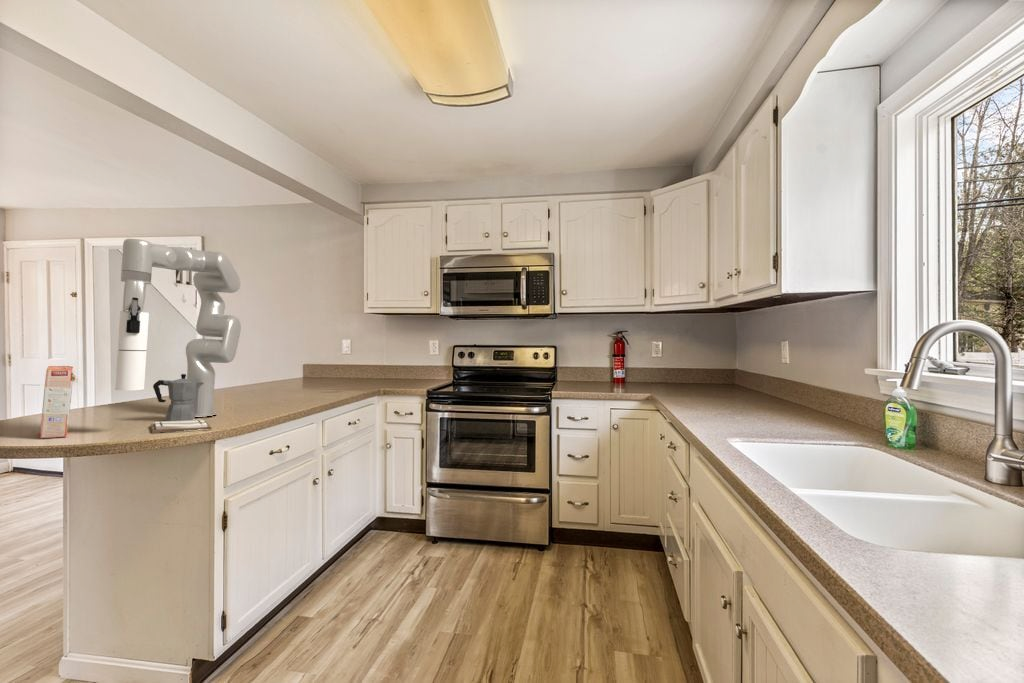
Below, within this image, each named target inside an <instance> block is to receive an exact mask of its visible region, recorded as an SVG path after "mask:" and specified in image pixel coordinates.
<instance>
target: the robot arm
mask: <svg viewBox="0 0 1024 683" xmlns="http://www.w3.org/2000/svg"><path fill="white" fill-rule="evenodd" d="M121 256H122V258H121V271H120V282H123V283H124V285H123V295H122V311H124V312H125V311H128V320H127V327H126V332H127V333H139V331H140V321H139V317H140V313H141V312H143V310H144V307H145V299H146V290H147V285H151V284H152V275H153V274H152V271H153V268H158V269H159V268H160V269H166V270H172V271H182V272H183V271H185V272H195V273H194V275H193V278H192V282H193V285H194V287H195V288H196V291H197V293H198V296H199V298H200V308H199V313H198V317H197V322H196V326H195V331H196V333H197V335H200V336H201V337H202V336H203V337H210V338H195V339H192V340H190V341H189V342H188V343H187V344H186V346H185V356H186V363H187V365H186V366H187V369H186V379H188V380H193V381H199V382H203V383H204V384H202V385H201V386H200V388H199V389H198V390H197V391H196V393H195V397H194V399H193V400H192V404H193V407H194V414H195V416H206V415H213V414H216V413H217V414H218V412H216V411H214V410H213V409H214V396H215V381H216V370H215V368H214V367H213V365H212V364H211V363H217V364H227V363H231V362H233V360H234V359H235V357H236V354H237V352H238V351H237V350H238V346H239V341H240V340H239V339H240V337H241V332H242V331H241V330H242V327H241V326H242V325H241V322H240V319H239V318H238V317H237V316H235V315H230V314H225V309H226V303H225V301H224V299H223V297H221V295H220V294H219V293H224V294H225V293H226V294H227V293H229V294H233V293H237V292H238V291H239V289H240V288H241V279H240V277H239V275H238V273H237V271H236V269H235V267H234V265H233V264H232V262H231V260H230V259H229V257H228V256H227V255H226V254H225V253H222V252H221V251H209V250H201V249H200V250H198V249H194V248H193V249H192V248H186V247H180V246H179V247H178V246H167V245H165V244H157V243H152V242H150V241H148V240H144V239H139V238H127V239H125V240H124V241H123V244H122V255H121ZM130 315H131V317H130ZM212 338H221V339H212Z"/></svg>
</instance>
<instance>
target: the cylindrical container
mask: <svg viewBox="0 0 1024 683" xmlns="http://www.w3.org/2000/svg"><path fill="white" fill-rule="evenodd" d="M128 311H129V310H125V312H124V311H123V310H120V312H119V313H120V314H119V324H118V326H119V327H118V342H117V353H116V354H117V357H116V368H115V369H116V370H115V372H116V373H115V383H114V385H115V386H114V389H115V391H141V390H145V383H146V382H145V380H146V368H147V366H146V365H147V353H148V352H147V350H148V349H147V348H148V337H149V334H148V333H149V322H150V321H149V319H150V313H149V312H146V311H145V312H143V311H142V312H141V313H140V317H139V321H140V331H139V333H127V332H126V327H127V320H128ZM130 317H131V315H130Z"/></svg>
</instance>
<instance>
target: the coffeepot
mask: <svg viewBox="0 0 1024 683" xmlns="http://www.w3.org/2000/svg"><path fill="white" fill-rule="evenodd" d="M180 377H181V378H178V379H175V380H168V379H167V380H164V379H159V380H157V381H156V382H155V383H154V384H153V385H152V387H153V390H154V393H155V396H156V398H157V402H159V403H165V402H166V401H167V400H166V399H163V398H162V393H161V388H160V386H166V387H167V391H168V398H169V400H170V404H169V405H168V408H167V413H166V415H165V419H164V421H183V420H193V419H195V420H196V418H195V414H194V407H193V404H192V400H193V399H194V397H195V393H196V391H197V390H198V389H199V388H200V386H201V385H202V384H204V383H203V382H199V381H193V380H188V379H187V373H186V374H185V373H182V374H180Z"/></svg>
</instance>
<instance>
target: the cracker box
mask: <svg viewBox="0 0 1024 683" xmlns="http://www.w3.org/2000/svg"><path fill="white" fill-rule="evenodd" d="M45 371H46V372H45V380H44V389H43V400H42V409H41V410H42V412H41V420H40V430H39V431H40V433H39V439H42V438H45V439H58V438H57V437H62V438H67V435H68V428H69V427H68V426H69V419H70V411H71V402H72V395H73V394H72V392H73V383H74V382H73V381H74V367H73V366H69V365H48V367H47V368H46V370H45Z"/></svg>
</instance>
